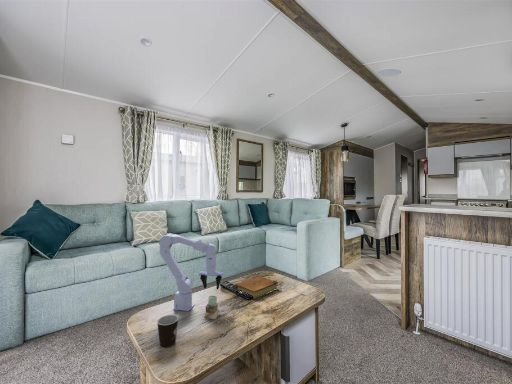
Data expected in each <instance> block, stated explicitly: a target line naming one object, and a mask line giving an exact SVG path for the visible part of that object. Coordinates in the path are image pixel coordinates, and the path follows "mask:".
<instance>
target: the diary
mask: <svg viewBox="0 0 512 384" xmlns="http://www.w3.org/2000/svg"><path fill="white" fill-rule="evenodd" d="M278 284H279V281H276V280H273V279H271V278H267V277H264V276H261V275H258V276H256V277H253V278H249V279H247V280H243V281H241V282H238V283H236V284H235V285H234V290H235V289H239V290H242V291H244V292H246V293H248V294H250V295H252V296H253V297H254V298H253V299H252V300H254V299H255V300H257V299H259V298H258V297H260V296H261V295H263V294H266V293H268V292H270V291H272V290H274V289H276V288H278ZM266 295H267V294H266ZM256 298H257V299H256ZM260 298H261V297H260Z"/></svg>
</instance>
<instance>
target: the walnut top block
mask: <svg viewBox="0 0 512 384" xmlns="http://www.w3.org/2000/svg"><path fill="white" fill-rule="evenodd" d="M218 306H219V305H218V302H217V305H216V306H214V307H210V306H208V303H207V305H205V312H206V313H215V312H216V310H217V309H219V307H218Z"/></svg>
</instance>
